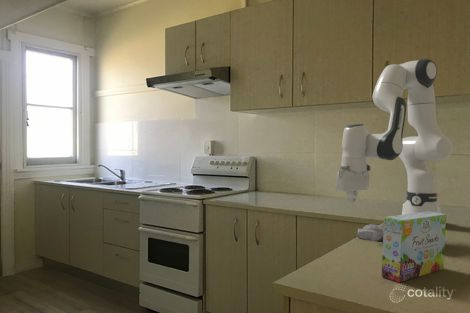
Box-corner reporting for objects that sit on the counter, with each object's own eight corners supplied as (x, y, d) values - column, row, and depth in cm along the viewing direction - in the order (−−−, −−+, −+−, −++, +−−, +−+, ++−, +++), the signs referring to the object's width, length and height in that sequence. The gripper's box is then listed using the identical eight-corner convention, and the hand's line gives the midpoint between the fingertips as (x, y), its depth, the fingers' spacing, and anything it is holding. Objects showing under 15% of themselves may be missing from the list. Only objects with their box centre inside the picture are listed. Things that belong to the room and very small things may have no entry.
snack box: (402, 284, 89) (403, 219, 89) (380, 277, 93) (381, 216, 93) (445, 269, 101) (447, 212, 101) (424, 264, 106) (426, 210, 106)
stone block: (392, 242, 140) (366, 233, 146) (395, 230, 140) (369, 221, 146) (381, 249, 131) (354, 239, 137) (384, 236, 130) (357, 226, 137)
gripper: (347, 166, 135) (346, 205, 135) (372, 166, 150) (371, 201, 150) (331, 165, 139) (330, 203, 139) (357, 166, 154) (356, 200, 154)
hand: (351, 202), depth 145 cm, fingers closed
